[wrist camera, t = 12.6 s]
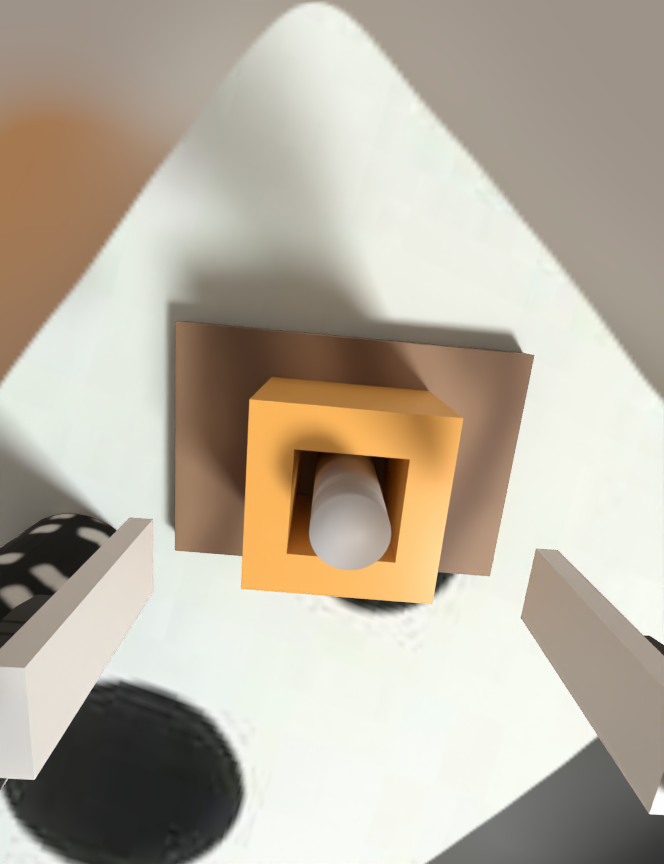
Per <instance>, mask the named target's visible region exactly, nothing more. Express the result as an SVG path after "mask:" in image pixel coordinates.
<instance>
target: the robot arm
mask: <svg viewBox="0 0 664 864" xmlns="http://www.w3.org/2000/svg"><path fill="white" fill-rule="evenodd" d="M152 593H153V519H142V518H129V519H128V520H127V521H126V522H125V523H124V524H123V525H122V526H121V527H120V528H119V529H118V530H117V531H116V532H115V533H114V534H113V535H112V536H111V537H110V538H109V539H108V540H107V541H106V542H105V543H104V544H103V545H102V546H101V547H100V548H99V549H98V550H97V551H96V552H95V553H94V554H93V555H92V556H91V557H90V558H89V559H88V560H87V561H86V562H85V563H84V564H83V565H82V566H81V567H80V568H79V569H78V571H77V572H76V573H75V574H74V575H73V576H72V577H71V578H70V579H69V580H68V581H67V582H66V583H65V584H64V585H63V586H62V587H61V588H60V589H59V590H58V591H57V592H56V593H55V594H54V595H53V596H52V595H36V596H34V597H32V598H30V599H28V600H27V601H25V602H23V603H21V604H19V605H18V606H16V607H15V608H14V609H13V610H12V611H11V612H10V613H9V614H8V615H6V616H5V617H4V618H3V619H2V621H1V623H0V778H11V779H29V780H35V778H36V777H37V775H38V773H39V772H40V770H41V769H42V767H43V765H44V764H45V762H46V761H47V759H48V758H49V756H50V754H51V753H52V751H53V750H54V748H55V746H56V745H57V743H58V742H59V740H60V739H61V737H62V735H63V734H64V732H65V731H66V729H67V727H68V726H69V724H70V723H71V721H72V720H73V718H74V716H75V715H76V713H77V712H78V710H79V708H80V707H81V705H82V704H83V702H84V701H85V699H86V697H87V696H88V694H89V693H90V691H91V689H92V688H93V686H94V685H95V683H96V682H97V680H98V678H99V677H100V675H101V674H102V672H103V670H104V669H105V667H106V666H107V664H108V663H109V661H110V659H111V658H112V656H113V655H114V653H115V652H116V650H117V648H118V647H119V645H120V644H121V642H122V640H123V639H124V637H125V636H126V634H127V633H128V631H129V629H130V628H131V626H132V625H133V623H134V621H135V620H136V618H137V617H138V615H139V614H140V612H141V610H142V609H143V607H144V606H145V604H146V602H147V601H148V599H149V598H150V596H151V595H152ZM521 619H522V620H523V622H524V623H525V625H526V626H527V628H528V629H529V631H530V632H531V634H532V636H533V637H534V639H535V640H536V642H537V643H538V645H539V646H540V648H541V649H542V651H543V652H544V654H545V655H546V657H547V658H548V660H549V662H550V663H551V665H552V666H553V668H554V669H555V671H556V672H557V674H558V675H559V677H560V678H561V680H562V681H563V683H564V684H565V686H566V688H567V689H568V691H569V692H570V694H571V695H572V697H573V698H574V700H575V701H576V703H577V704H578V706H579V707H580V709H581V710H582V712H583V714H584V715H585V717H586V718H587V720H588V721H589V723H590V724H591V726H592V727H593V729H594V730H595V732H596V733H597V735H598V736H599V738H600V740H601V741H602V743H603V744H604V746H605V747H606V749H607V750H608V752H609V753H610V755H611V756H612V758H613V759H614V761H615V762H616V764H617V765H618V767H619V769H620V770H621V772H622V773H623V775H624V776H625V778H626V779H627V781H628V782H629V784H630V785H631V787H632V788H633V790H634V791H635V793H636V795H637V796H638V798H639V799H640V801H641V802H642V804H643V805H644V807H645V808H646V810H647V811H648V813H649V814H659V815H664V645H663V644H661V643H660V642H658V641H657V640H655V639H654V638H652V637H651V636H643V635H642V634H641V633H640V632H639V631H638V630H637V629H636V628H635V627H634V626H633V625H632V624H631V623H630V622H629V621H628V620H627V619H626V618H625V617H624V616H623V615H622V614H621V613H620V612H619V611H618V610H617V609H616V608H615V607H614V606H613V605H612V604H611V603H610V602H609V601H608V600H607V599H606V598H605V597H604V596H603V595H602V594H601V593H600V592H599V591H598V590H597V589H596V588H595V587H594V586H593V585H592V584H591V583H590V582H589V581H588V580H587V579H586V578H585V577H584V576H583V575H582V574H581V573H580V572H579V571H578V570H577V569H576V568H575V567H574V566H573V565H572V564H571V563H570V562H569V561H568V560H567V559H566V558H565V557H564V556H563V555H562V554H561V553H560V552H559V551H558V550H548V549H536V551H535V556H534V560H533V565H532V569H531V574H530V578H529V583H528V587H527V592H526V596H525V601H524V606H523V610H522V615H521Z"/></svg>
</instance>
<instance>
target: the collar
mask: <svg viewBox="0 0 664 864" xmlns="http://www.w3.org/2000/svg"><path fill="white" fill-rule="evenodd" d="M462 424H463V418H462V417H461V416H460V415H459V414H457V413H456V412H455V411H454V410H452V409H451V408H450V407H449V406H447V405H446V404H445V403H443V402H442V401H441V400H440V399H438V398H437V397H436V396H435V395H433V394H432V393H431V392H430V391H423V390H412V389H401V388H389V387H378V386H367V385H356V384H345V383H334V382H323V381H311V380H300V379H289V378H278V377H271V378H270V379H269V380H268V381H267V382H266V383H265V384H264V385H263V386H262V387H261V388H260V389H259V390H258V391H257V392H256V393H255V394H254V395H253V396H252V397H251V398H250V399H249V421H248V444H247V466H246V489H245V511H244V534H243V556H242V579H241V589H250V590H262V591H275V592H287V593H300V594H312V595H325V596H338V597H350V598H363V599H375V600H388V601H400V602H413V603H425V604H432V603H433V597H434V591H435V585H436V579H437V573H438V567H439V561H440V555H441V549H442V543H443V537H444V531H445V525H446V519H447V513H448V507H449V501H450V496H451V490H452V484H453V478H454V472H455V466H456V460H457V454H458V448H459V442H460V436H461V430H462ZM301 450H307V451H319V452H331V453H342V454H354V455H365V456H377V457H385V465H384V473H383V481H382V489H381V492H382V496H383V500H384V503H385V507H386V510H387V514H388V518H389V521H390V526H391V540H390V543H389V546H388V548H387V550H386V552H385V553H384V555H383V556H382V557H381V558H380V559H379V560H378V561H376V562H375V563H373V564H372V565H370V566H368V567H365V568H362V569H358V570H341V569H337V568H334V567H332V566H330V565H328V564H326V563H325V562H324V561H322V560H321V559H320V558H319V557H318V556H317V554H316V553H315V552H314V550H313V548H312V546H311V542H310V538H309V528H310V519H311V510H312V501H313V496H309V495H298V489H299V476H300V463H301Z"/></svg>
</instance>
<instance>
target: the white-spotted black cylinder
mask: <svg viewBox="0 0 664 864" xmlns="http://www.w3.org/2000/svg"><path fill="white" fill-rule="evenodd" d="M115 532H116V531H115V530H114V529H113V528H112V527H110V526H108V525H107V524H105V523H103V522H101V521H99V520H96V519H94V518H91V517H88V516H83V515H78V514H61V515H55V516H51V517H48V518H45V519H43V520H41V521H39V522H38V523H36V524H34V525H33V526H31V527H30V528H29V529H27V530H26V531H24V532H23V533H21V534H20V535H19V536H17V537H16V538H14V539H13V540H11V541H10V542H9V543H7V544H6V545H4V546H3V547H1V548H0V623H1V621H2V619H3V618H4V617H5V616H6V615H8V614H9V613H10V612H11V611H12V610H13V609H14V608H15V607H16V606H18V605H19V604H21V603H23V602H25V601H27V600H28V599H30V598H32V597H34V596H36V595H52V596H53V595H54V594H55V593H56V592H57V591H58V590H59V589H60V588H61V587H62V586H63V585H64V584H65V583H66V582H67V581H68V580H69V579H70V578H71V577H72V576H73V575H74V574H75V573H76V572H77V571H78V569H79V568H80V567H81V566H82V565H83V564H84V563H85V562H86V561H87V560H88V559H89V558H90V557H91V556H92V555H93V554H94V553H95V552H96V551H97V550H98V549H99V548H100V547H101V546H102V545H103V544H104V543H105V542H106V541H107V540H108V539H109V538H110V537H111V536H112V535H113V534H114V533H115ZM8 779H9V778H0V790H1V789H2V787H3V786H4V784H5V783H6V781H7V780H8Z"/></svg>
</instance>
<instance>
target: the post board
mask: <svg viewBox="0 0 664 864" xmlns="http://www.w3.org/2000/svg"><path fill="white" fill-rule="evenodd" d="M533 359H534V355H531V354H526V353H518V352H507V351H496V350H486V349H475V348H464V347H453V346H443V345H432V344H421V343H410V342H399V341H389V340H378V339H367V338H356V337H345V336H335V335H324V334H313V333H302V332H291V331H281V330H270V329H259V328H248V327H237V326H227V325H216V324H205V323H194V322H176V380H175V550H176V551H188V552H200V553H213V554H225V555H237V556H243V534H244V511H245V489H246V466H247V444H248V421H249V399H250V398H251V397H252V396H253V395H254V394H255V393H256V392H257V391H258V390H259V389H260V388H261V387H262V386H263V385H264V384H265V383H266V382H267V381H268V380H269V379H270V378H271V377H278V378H289V379H300V380H311V381H323V382H334V383H345V384H356V385H367V386H378V387H389V388H401V389H412V390H423V391H430V392H431V393H432V394H433V395H435V396H436V397H437V398H438V399H440V400H441V401H442V402H443V403H445V404H446V405H447V406H449V407H450V408H451V409H452V410H454V411H455V412H456V413H457V414H459V415H460V416H461V417H462V418H463V424H462V430H461V436H460V442H459V448H458V454H457V460H456V466H455V472H454V478H453V484H452V490H451V496H450V501H449V507H448V513H447V519H446V525H445V531H444V537H443V543H442V549H441V555H440V561H439V567H438V572H444V573H456V574H469V575H481V576H490V572H491V567H492V562H493V557H494V553H495V548H496V543H497V538H498V533H499V528H500V523H501V518H502V513H503V508H504V503H505V498H506V493H507V488H508V483H509V478H510V473H511V468H512V463H513V458H514V453H515V448H516V443H517V438H518V434H519V429H520V424H521V419H522V414H523V409H524V404H525V399H526V394H527V389H528V384H529V379H530V374H531V369H532V364H533ZM384 465H385V457H377V456H365V455H354V454H342V453H331V452H319V451H307V450H301V463H300V476H299V489H298V495H309V496H313V501H312V510H311V519H310V528H309V538H310V542H311V546H312V548H313V550H314V552H315V553H316V554H317V556H318V557H319V558H320V559H321V560H322V561H324V562H325V563H326V564H328V565H330V566H332V567H334V568H337V569H341V570H358V569H362V568H365V567H368V566H370V565H372V564H373V563H375V562H376V561H378V560H379V559H380V558H381V557H382V556H383V555H384V553H385V552H386V550H387V548H388V546H389V543H390V540H391V526H390V521H389V518H388V514H387V510H386V507H385V503H384V500H383V496H382V492H381V489H382V481H383V473H384Z"/></svg>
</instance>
